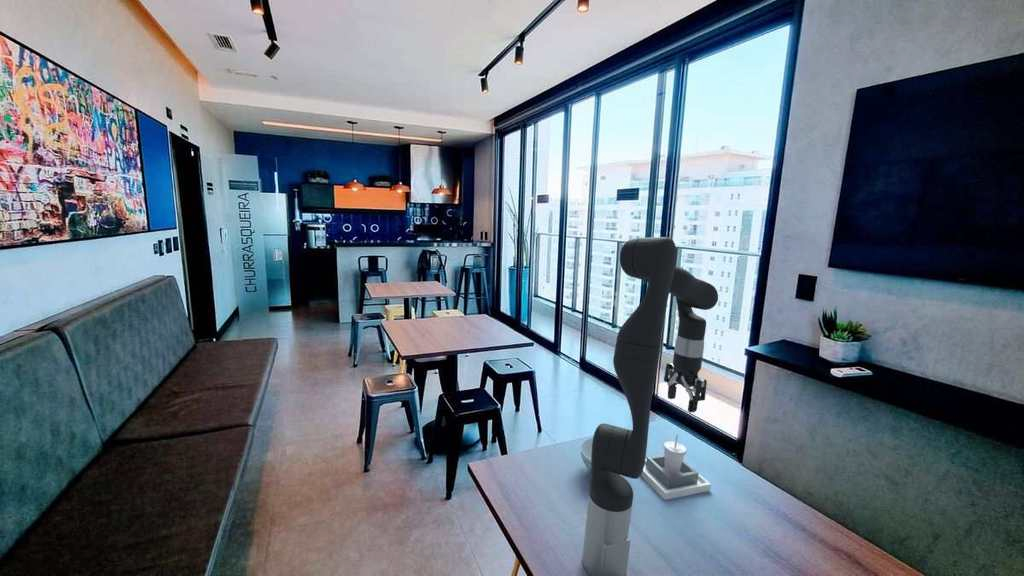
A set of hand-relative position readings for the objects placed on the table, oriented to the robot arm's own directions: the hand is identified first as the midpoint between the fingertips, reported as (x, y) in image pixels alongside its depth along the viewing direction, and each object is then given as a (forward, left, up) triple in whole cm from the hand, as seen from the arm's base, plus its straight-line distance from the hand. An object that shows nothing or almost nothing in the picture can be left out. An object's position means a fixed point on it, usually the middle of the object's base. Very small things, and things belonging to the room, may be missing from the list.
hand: (681, 404), depth 119 cm
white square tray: (0, 0, -24) cm, 24 cm away
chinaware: (+7, +19, -25) cm, 32 cm away
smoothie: (0, 0, -23) cm, 23 cm away
